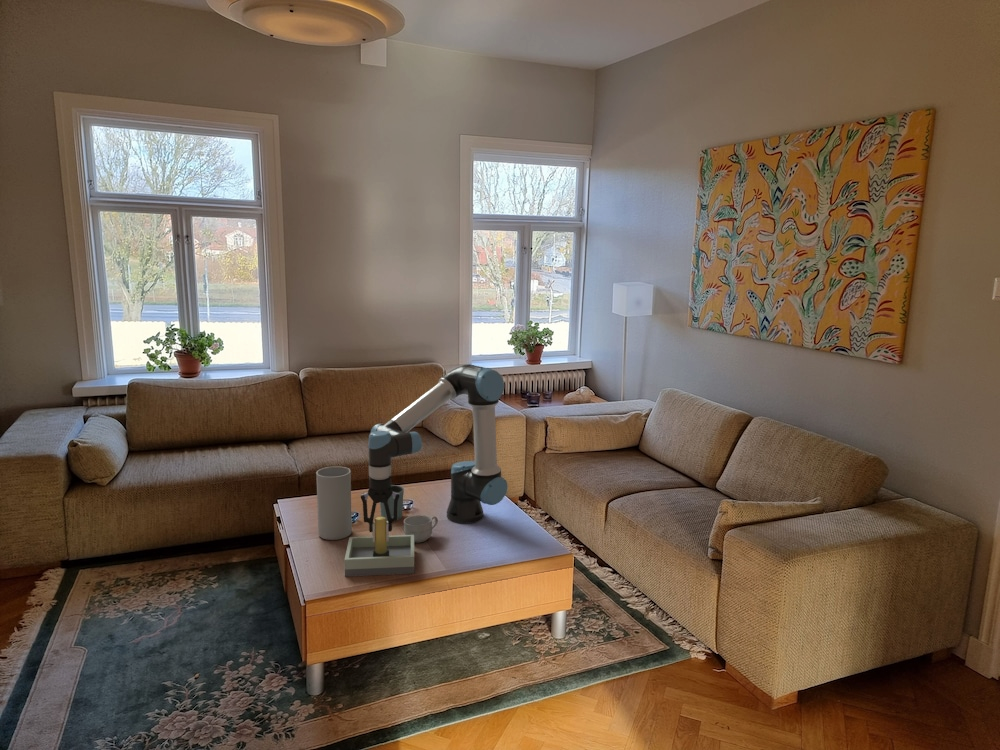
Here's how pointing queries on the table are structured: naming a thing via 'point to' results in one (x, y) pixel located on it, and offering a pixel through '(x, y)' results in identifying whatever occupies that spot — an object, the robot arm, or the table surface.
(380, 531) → the peg
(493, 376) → the robot arm
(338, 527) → the cylinder vase
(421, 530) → the teacup
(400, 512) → the grey-green cup
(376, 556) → the box
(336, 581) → the table surface
